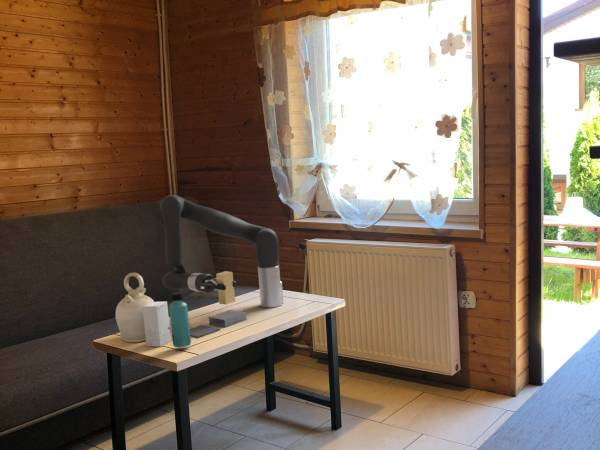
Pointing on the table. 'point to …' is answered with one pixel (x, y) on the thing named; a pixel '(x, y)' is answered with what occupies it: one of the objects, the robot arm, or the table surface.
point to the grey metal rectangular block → (227, 318)
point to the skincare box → (156, 324)
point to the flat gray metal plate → (202, 331)
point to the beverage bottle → (179, 321)
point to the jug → (132, 311)
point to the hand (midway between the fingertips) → (230, 285)
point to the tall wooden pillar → (228, 294)
